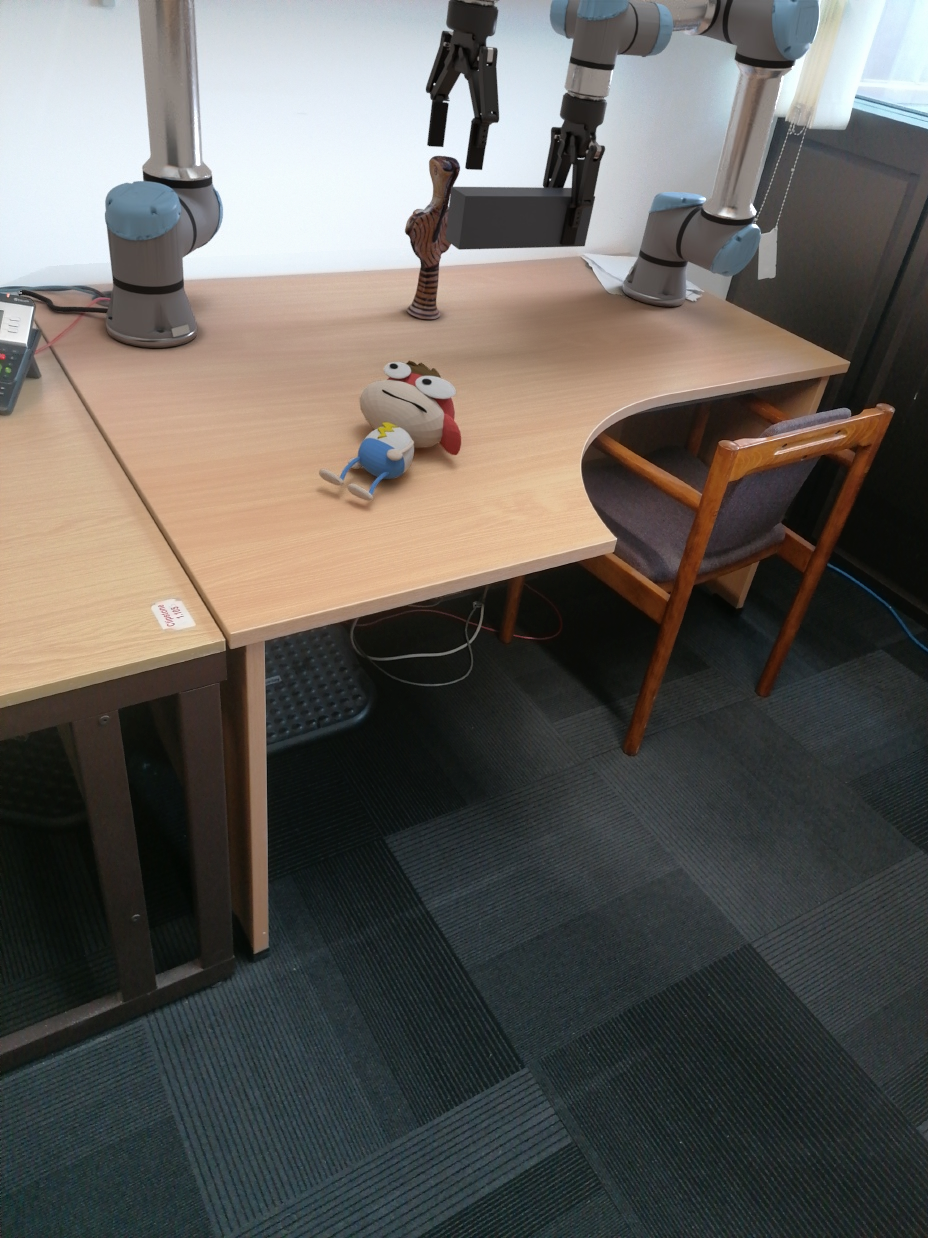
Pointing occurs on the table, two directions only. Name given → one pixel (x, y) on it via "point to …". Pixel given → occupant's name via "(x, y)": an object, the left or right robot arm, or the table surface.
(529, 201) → the bar
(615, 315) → the table surface
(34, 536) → the table surface
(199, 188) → the left robot arm
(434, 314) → the figurine
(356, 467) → the toy
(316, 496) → the table surface
